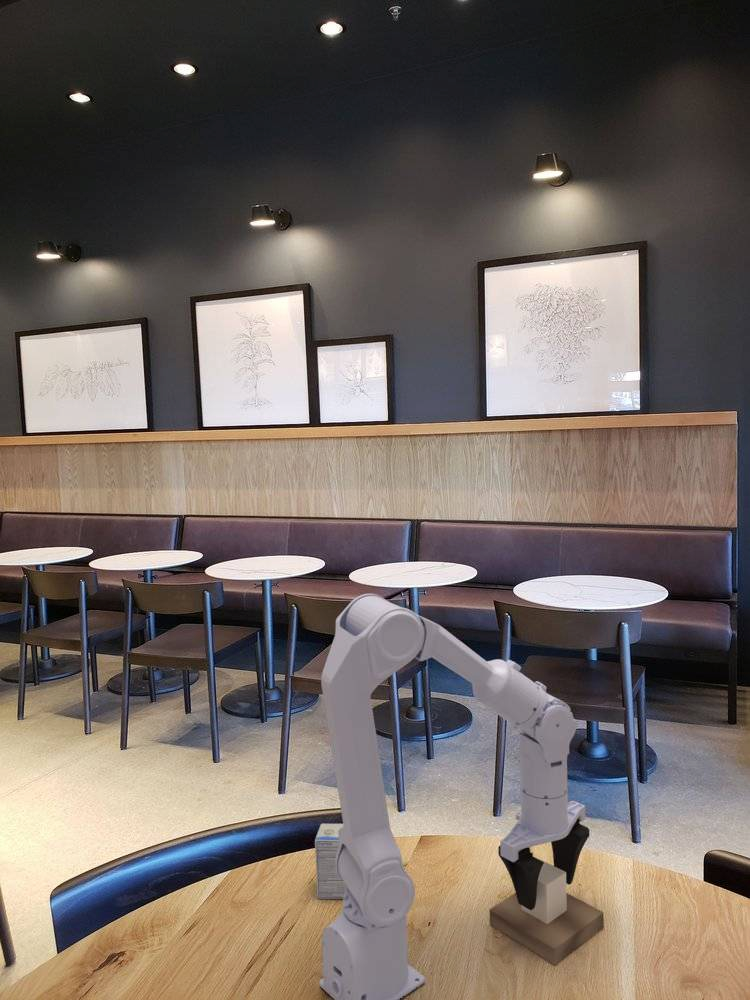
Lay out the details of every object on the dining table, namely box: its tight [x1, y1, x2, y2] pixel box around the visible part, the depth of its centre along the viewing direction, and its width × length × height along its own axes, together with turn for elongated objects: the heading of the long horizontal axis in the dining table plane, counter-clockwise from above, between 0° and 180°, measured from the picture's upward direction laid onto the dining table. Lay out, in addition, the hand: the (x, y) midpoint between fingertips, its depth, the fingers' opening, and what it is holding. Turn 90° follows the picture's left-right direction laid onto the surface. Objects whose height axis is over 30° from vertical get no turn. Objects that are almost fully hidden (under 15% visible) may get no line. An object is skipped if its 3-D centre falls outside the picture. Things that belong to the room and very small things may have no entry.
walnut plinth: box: [489, 892, 605, 966], centre depth 93 cm, size 10×10×2 cm
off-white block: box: [521, 859, 567, 924], centre depth 93 cm, size 4×4×5 cm
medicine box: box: [314, 823, 346, 900], centre depth 101 cm, size 8×4×9 cm, turn 84°
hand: (545, 892), depth 93 cm, fingers open, 7 cm apart
